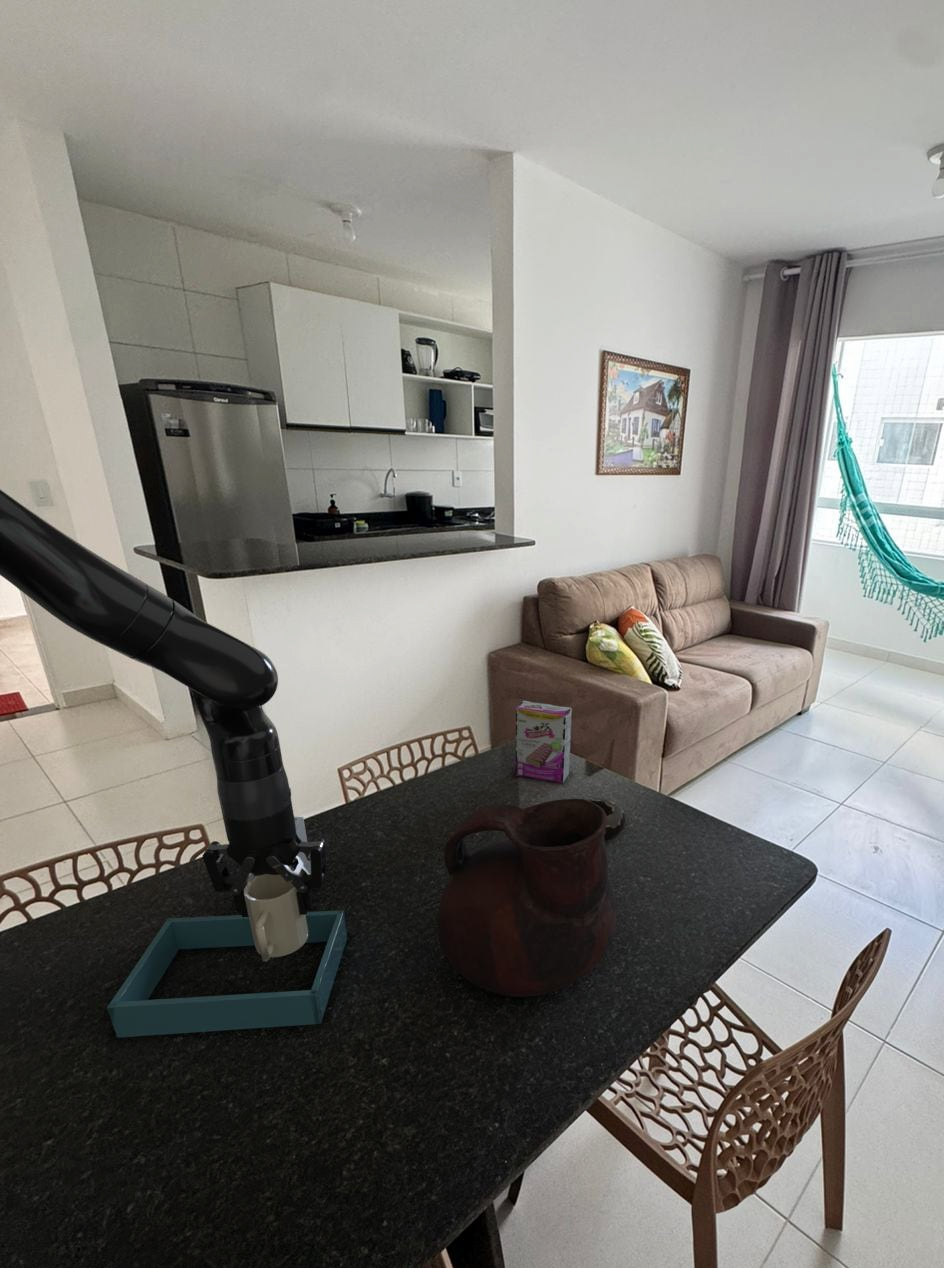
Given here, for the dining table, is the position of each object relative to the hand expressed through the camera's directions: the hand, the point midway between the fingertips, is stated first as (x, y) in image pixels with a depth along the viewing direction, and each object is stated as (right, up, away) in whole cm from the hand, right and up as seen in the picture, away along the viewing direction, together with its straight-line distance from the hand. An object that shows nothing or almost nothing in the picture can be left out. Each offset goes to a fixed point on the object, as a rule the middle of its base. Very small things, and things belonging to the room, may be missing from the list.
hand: (277, 911), depth 86 cm
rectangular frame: (-6, -10, +3) cm, 12 cm away
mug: (0, -5, +1) cm, 5 cm away
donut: (+41, +4, +42) cm, 59 cm away
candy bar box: (+29, +13, +60) cm, 68 cm away
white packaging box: (-8, -3, +19) cm, 21 cm away
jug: (+32, -9, +10) cm, 34 cm away
